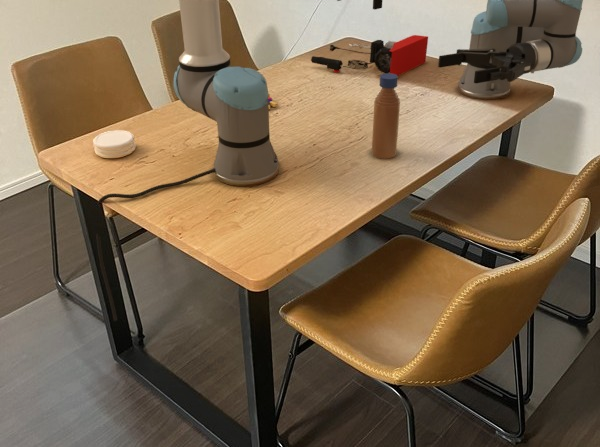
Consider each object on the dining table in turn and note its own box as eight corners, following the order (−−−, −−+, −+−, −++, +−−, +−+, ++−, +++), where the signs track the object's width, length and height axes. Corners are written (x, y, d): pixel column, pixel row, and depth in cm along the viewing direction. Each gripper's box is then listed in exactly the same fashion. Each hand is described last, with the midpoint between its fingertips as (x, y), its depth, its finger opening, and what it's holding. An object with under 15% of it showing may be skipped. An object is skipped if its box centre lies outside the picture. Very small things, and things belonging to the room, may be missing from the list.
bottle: (367, 150, 155) (371, 75, 144) (389, 146, 156) (394, 72, 146) (377, 160, 150) (382, 83, 139) (400, 156, 151) (406, 80, 141)
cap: (376, 83, 145) (377, 74, 144) (392, 81, 146) (392, 72, 145) (384, 89, 141) (384, 80, 140) (400, 87, 143) (400, 77, 141)
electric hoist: (310, 36, 203) (391, 51, 188) (352, 23, 222) (429, 35, 207) (309, 67, 208) (388, 83, 193) (351, 51, 227) (425, 65, 212)
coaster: (106, 163, 150) (103, 149, 148) (88, 149, 156) (85, 137, 155) (143, 150, 156) (141, 137, 154) (124, 138, 162) (122, 126, 160)
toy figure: (281, 99, 179) (254, 86, 186) (263, 105, 175) (236, 92, 182) (281, 107, 180) (254, 94, 187) (263, 113, 176) (236, 100, 183)
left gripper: (410, -82, 149) (403, 9, 160) (338, -89, 165) (337, -6, 176) (388, -79, 145) (383, 15, 156) (317, -87, 161) (317, -2, 172)
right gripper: (561, 86, 146) (489, 100, 139) (490, 59, 166) (424, 70, 158) (567, 55, 142) (494, 67, 135) (495, 31, 162) (427, 40, 154)
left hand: (358, 4), depth 166 cm, fingers open, 13 cm apart
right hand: (456, 69), depth 146 cm, fingers open, 13 cm apart
